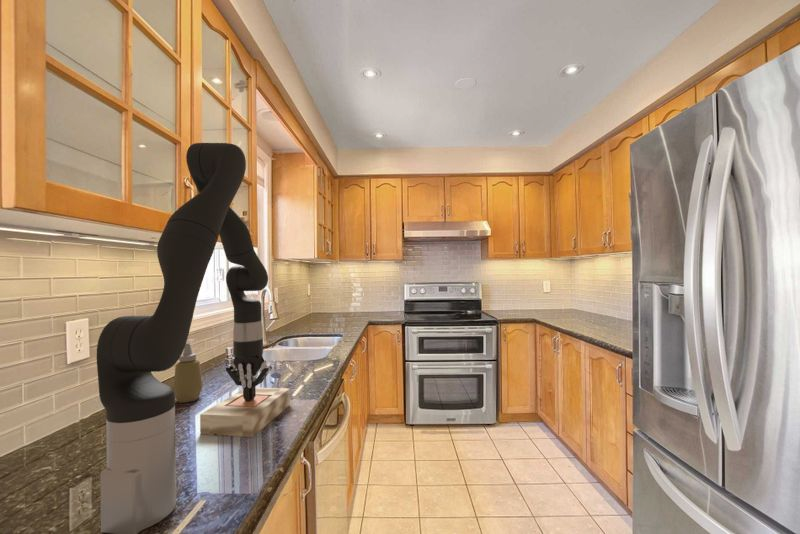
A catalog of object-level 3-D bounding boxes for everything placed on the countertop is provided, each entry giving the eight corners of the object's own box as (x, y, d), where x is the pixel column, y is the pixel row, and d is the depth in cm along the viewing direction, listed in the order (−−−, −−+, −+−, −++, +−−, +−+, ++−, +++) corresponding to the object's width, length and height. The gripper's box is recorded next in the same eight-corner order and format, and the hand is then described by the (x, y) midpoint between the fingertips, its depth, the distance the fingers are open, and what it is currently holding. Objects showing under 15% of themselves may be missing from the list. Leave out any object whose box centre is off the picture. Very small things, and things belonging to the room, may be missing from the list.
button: (254, 421, 90) (254, 406, 90) (227, 420, 92) (227, 405, 92) (269, 409, 98) (269, 395, 98) (244, 408, 99) (244, 394, 99)
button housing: (252, 437, 84) (251, 416, 84) (200, 434, 86) (200, 414, 86) (289, 405, 104) (289, 388, 104) (247, 403, 106) (246, 387, 106)
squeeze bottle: (189, 405, 105) (188, 346, 105) (166, 403, 106) (166, 345, 107) (208, 395, 113) (207, 341, 113) (187, 394, 114) (187, 340, 115)
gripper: (277, 335, 98) (278, 396, 98) (234, 334, 100) (235, 394, 100) (263, 340, 90) (264, 406, 90) (217, 340, 92) (218, 404, 92)
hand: (249, 400), depth 95 cm, fingers closed
